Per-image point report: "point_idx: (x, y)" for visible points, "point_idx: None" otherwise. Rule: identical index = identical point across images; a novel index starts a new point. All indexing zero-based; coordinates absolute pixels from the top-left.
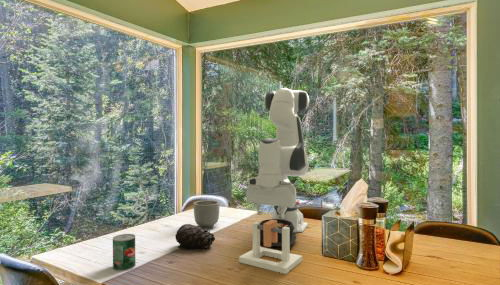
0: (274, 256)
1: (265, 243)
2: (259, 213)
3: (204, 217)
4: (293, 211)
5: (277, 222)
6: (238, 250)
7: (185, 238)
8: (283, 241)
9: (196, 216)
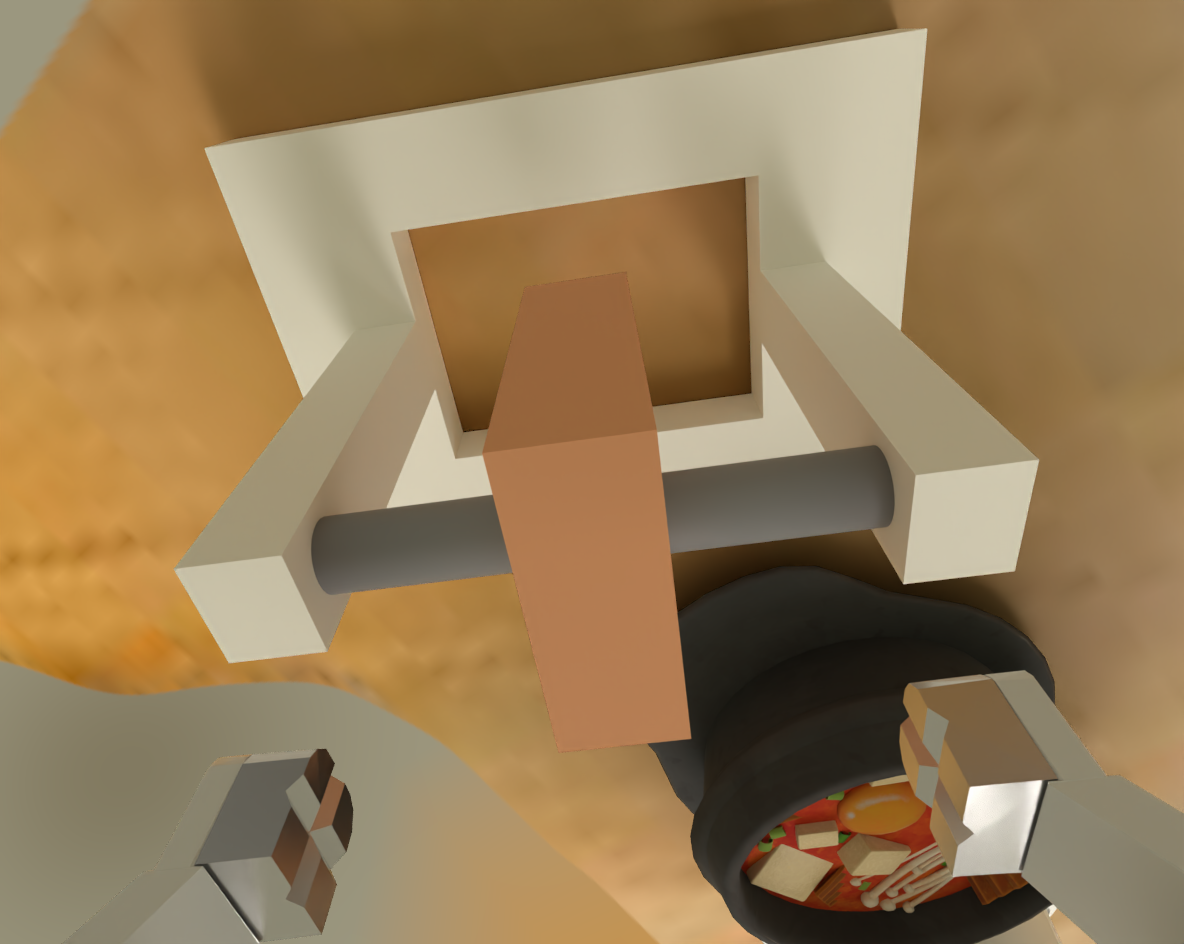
0: None
1: (592, 288)
2: (970, 702)
3: None
4: None
5: (936, 908)
6: (1083, 325)
7: None
8: (329, 429)
9: None
